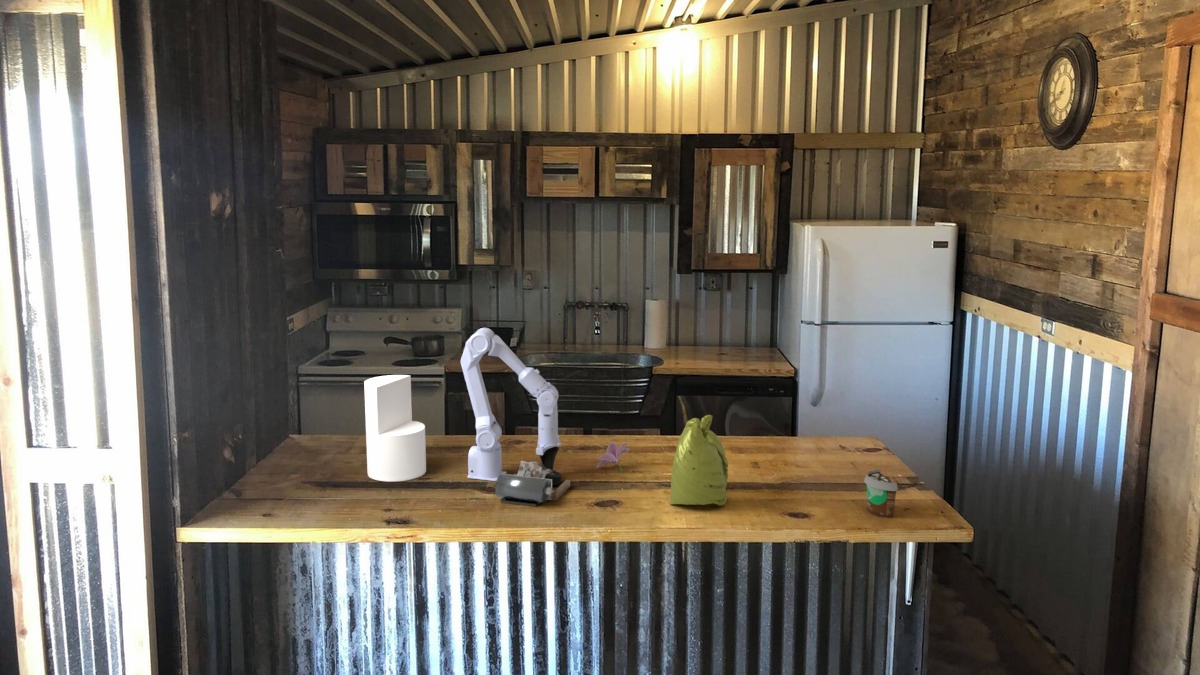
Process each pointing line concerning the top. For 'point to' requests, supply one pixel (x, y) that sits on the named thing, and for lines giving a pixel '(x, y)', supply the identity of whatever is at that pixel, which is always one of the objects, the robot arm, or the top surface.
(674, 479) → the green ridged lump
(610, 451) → the lily
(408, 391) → the cylinder
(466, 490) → the top surface
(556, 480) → the caster wheel
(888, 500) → the food container
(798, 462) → the top surface
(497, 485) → the motor mount
